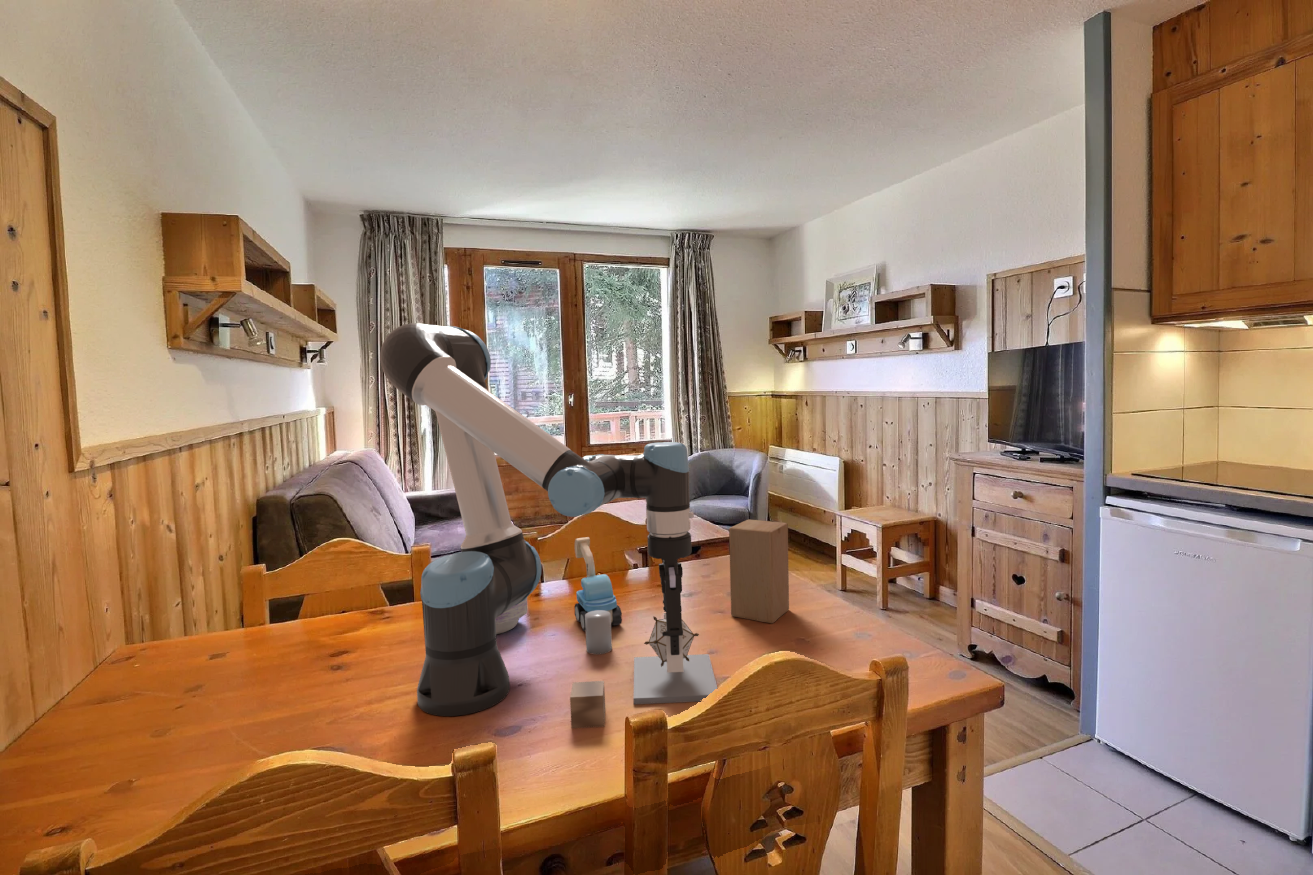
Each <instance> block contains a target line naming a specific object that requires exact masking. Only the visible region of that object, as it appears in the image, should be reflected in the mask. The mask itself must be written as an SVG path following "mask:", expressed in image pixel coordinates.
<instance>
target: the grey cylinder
mask: <svg viewBox="0 0 1313 875" xmlns="http://www.w3.org/2000/svg"><path fill="white" fill-rule="evenodd" d="M585 627H586V631H585V643H586V645H585V646H586V652H587V653H589V654H591V655H604V654H607V653H610V652H612V649H613V647H612V646H613V645H612V640H613V639H612V624H611V615H610V612H608V611H604V610H595V611H591V612H588V613H586V614H585Z"/></svg>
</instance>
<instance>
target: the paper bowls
mask: <svg viewBox="0 0 1313 875" xmlns="http://www.w3.org/2000/svg"><path fill="white" fill-rule="evenodd" d="M528 609H529V608H528V597H527V598H526V599H525V600H524V601H522V602H520V603H519V604H517V605H514V606H513V607H511V608H510V609H508V610H507V611H505V612H504V613H502V614H501V615H500V616H498V617H496V619H495V621H496V635H499V634H500V635H501V634H503V633H506V632H508V631H511V630H513V629H514V628H515V627H517V625H518V623H519V620H520V618H522V617H524V616H525V615H526V614H528Z"/></svg>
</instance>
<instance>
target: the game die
mask: <svg viewBox="0 0 1313 875" xmlns="http://www.w3.org/2000/svg"><path fill="white" fill-rule="evenodd" d="M681 615H682V613H681ZM653 620H654V621H655V623H654V626H653V628H652V631H651V634H650V637H649V640H648V641H645V642H644V643H643V644H645V645H649V646H650V647H651V648H652V650H653V651H654V652H655V654H656V656H659V658H660V659H661V660H662V663H661V667H662V666H664V662H667V651H666V636H663V635H662V632H666V630H667V625H666V618H665V619H664V618H661V619H660V618H659V619H658V618H657V617H656V616H653ZM682 630H683V635H682V642H683V658H686V660H687V661H689V658H688V657H687V655H689V651H690V648H691V646H692V643H693V640H694V637H698V636H699V635H700V634H699V633H697V632H696V633H693V631H692V630H691V628H690V627H689V626H688V625H687V624H686V623H685V621H684V620H683V619H682Z"/></svg>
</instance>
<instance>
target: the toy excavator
mask: <svg viewBox="0 0 1313 875" xmlns="http://www.w3.org/2000/svg"><path fill="white" fill-rule="evenodd" d="M590 546H591V539H590V537H589V536H587V537H579V538H575V540H574V554H575V558H576V559H581V558H583V559H584V562H585V567H586V577H585V576H584V577H583V578H582V579H580V580H581V581H580V586H581V587H582V589H579V590H577V591H576V601H577V602H578V603H575V604H574V616H575V619H576V621H577V623H580V626H581V627H582V631H584V632H586V627H585V614H586V613H588V612H591V611H595V610H604V611H608V612H610V615H611V626H618V625H621V624H622V623H623V618H622V614H623V613H622V609H621V607H620V605H618V602H617V599H616V595H614V590H613V585H612V581H611V579H610V576H608V574H606V573H604V574H597V575H596V568H595V567H596V566H595V561H594V556H593V552H592V551H591V549H590Z"/></svg>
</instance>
